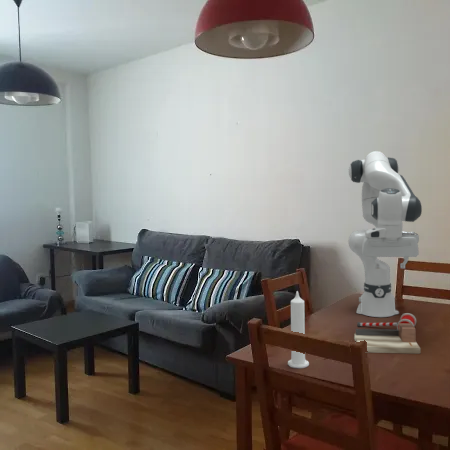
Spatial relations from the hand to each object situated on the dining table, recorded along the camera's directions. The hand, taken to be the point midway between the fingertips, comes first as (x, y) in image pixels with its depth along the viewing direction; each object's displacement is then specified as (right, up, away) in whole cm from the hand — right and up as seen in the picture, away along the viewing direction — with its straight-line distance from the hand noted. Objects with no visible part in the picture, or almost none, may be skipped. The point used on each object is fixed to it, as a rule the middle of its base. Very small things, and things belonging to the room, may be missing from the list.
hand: (389, 268), depth 187 cm
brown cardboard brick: (+6, -26, -3) cm, 27 cm away
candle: (-38, -31, -20) cm, 53 cm away
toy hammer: (+6, -27, +17) cm, 32 cm away
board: (-3, -28, -3) cm, 29 cm away
